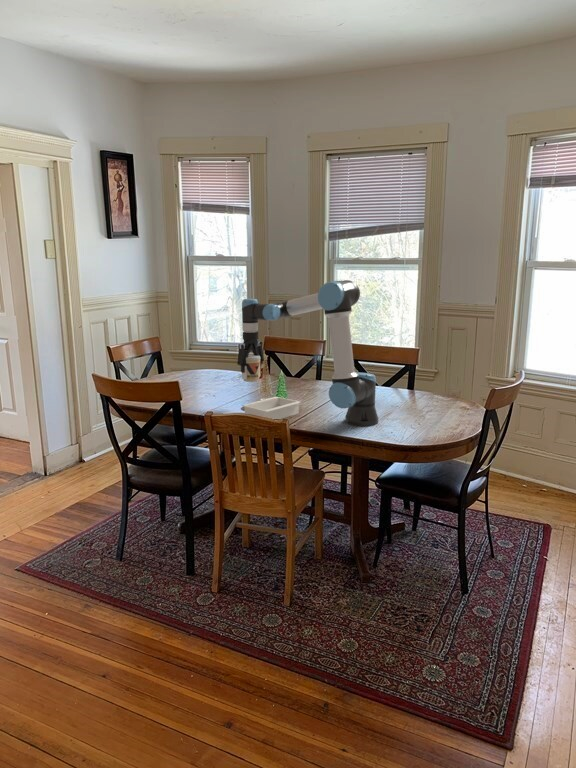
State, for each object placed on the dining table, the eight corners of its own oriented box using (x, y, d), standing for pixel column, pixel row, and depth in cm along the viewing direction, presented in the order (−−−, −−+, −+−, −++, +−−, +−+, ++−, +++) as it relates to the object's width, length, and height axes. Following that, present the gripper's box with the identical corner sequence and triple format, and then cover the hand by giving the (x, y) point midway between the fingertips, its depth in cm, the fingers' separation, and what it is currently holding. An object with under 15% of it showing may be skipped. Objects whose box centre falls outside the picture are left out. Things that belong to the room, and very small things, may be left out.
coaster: (267, 409, 284) (267, 407, 283) (251, 413, 276) (251, 412, 276) (252, 405, 291) (252, 404, 291) (236, 409, 283) (236, 408, 283)
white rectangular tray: (276, 408, 285) (276, 396, 284) (301, 414, 274) (301, 402, 272) (242, 417, 269) (241, 405, 267) (267, 424, 257) (267, 411, 256)
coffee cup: (243, 382, 274) (243, 358, 272) (240, 378, 283) (239, 354, 281) (262, 381, 277) (262, 357, 274) (258, 377, 286) (258, 354, 283)
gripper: (260, 328, 285) (261, 373, 290) (228, 332, 270) (229, 379, 275) (271, 329, 280) (272, 375, 285) (239, 334, 265) (240, 382, 270)
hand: (251, 377), depth 280 cm, fingers closed on coffee cup, 8 cm apart
